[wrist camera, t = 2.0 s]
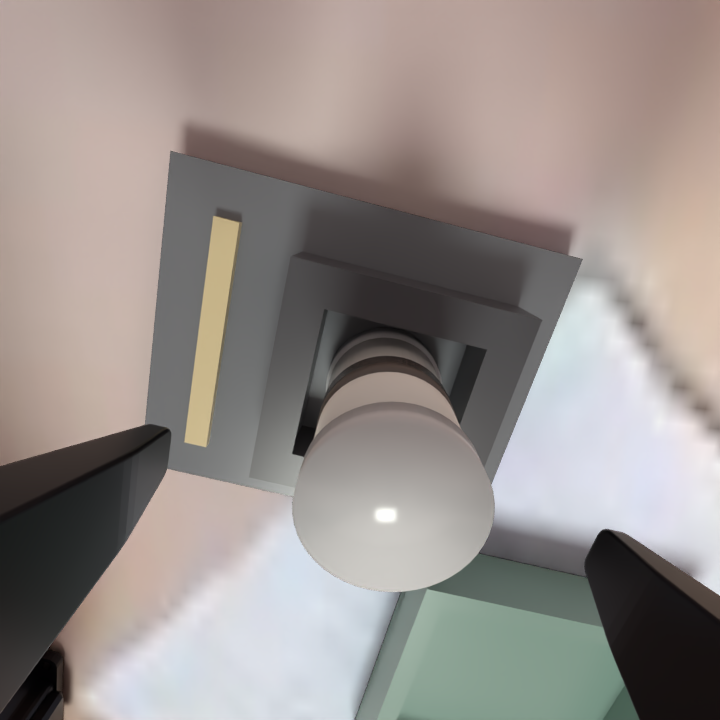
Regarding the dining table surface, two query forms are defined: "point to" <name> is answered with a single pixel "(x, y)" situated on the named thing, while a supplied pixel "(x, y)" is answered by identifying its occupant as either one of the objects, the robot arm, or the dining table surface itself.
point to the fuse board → (327, 316)
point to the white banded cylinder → (390, 471)
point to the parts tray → (497, 650)
